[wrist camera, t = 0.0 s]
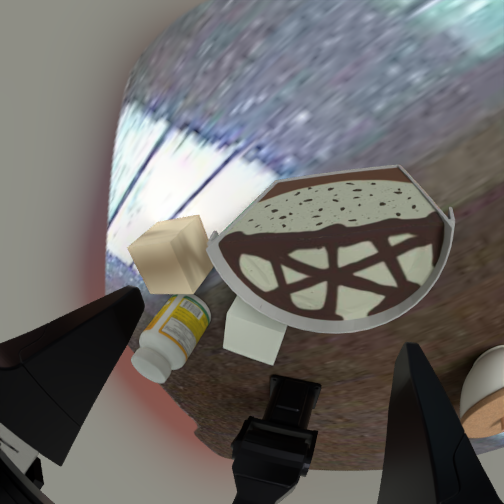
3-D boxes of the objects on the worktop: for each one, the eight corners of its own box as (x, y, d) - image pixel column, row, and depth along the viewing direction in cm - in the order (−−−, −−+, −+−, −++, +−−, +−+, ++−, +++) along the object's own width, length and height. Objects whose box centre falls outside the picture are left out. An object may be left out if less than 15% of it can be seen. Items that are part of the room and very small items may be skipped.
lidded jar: (488, 392, 26) (494, 451, 18) (438, 377, 27) (440, 447, 20) (542, 342, 19) (561, 405, 12) (498, 318, 21) (520, 395, 13)
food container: (276, 251, 25) (234, 338, 17) (257, 183, 22) (196, 250, 14) (423, 239, 20) (449, 334, 12) (419, 162, 17) (464, 227, 9)
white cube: (285, 328, 30) (273, 365, 26) (240, 313, 31) (222, 347, 27) (297, 294, 27) (284, 333, 23) (246, 278, 28) (226, 313, 24)
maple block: (217, 261, 28) (193, 294, 24) (176, 264, 30) (150, 293, 26) (199, 214, 26) (169, 242, 22) (158, 221, 28) (127, 247, 24)
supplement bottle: (206, 293, 31) (160, 360, 23) (216, 328, 33) (179, 393, 26) (165, 287, 33) (117, 346, 25) (178, 320, 35) (138, 378, 28)
